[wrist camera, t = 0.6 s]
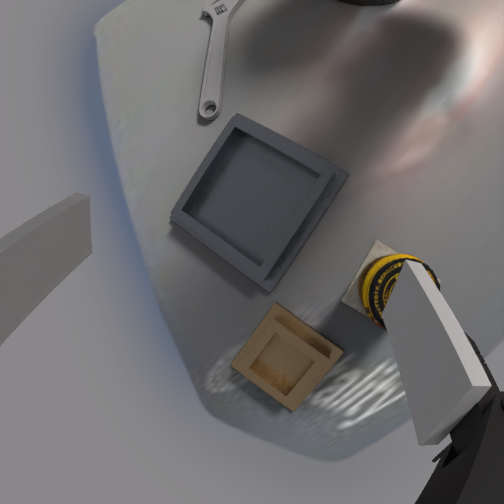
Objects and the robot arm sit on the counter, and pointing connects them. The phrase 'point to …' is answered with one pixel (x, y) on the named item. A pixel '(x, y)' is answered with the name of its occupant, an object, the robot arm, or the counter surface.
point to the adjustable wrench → (216, 53)
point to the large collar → (257, 199)
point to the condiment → (378, 281)
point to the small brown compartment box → (286, 357)
